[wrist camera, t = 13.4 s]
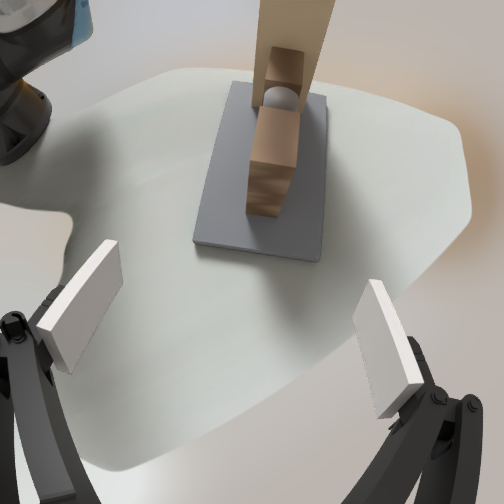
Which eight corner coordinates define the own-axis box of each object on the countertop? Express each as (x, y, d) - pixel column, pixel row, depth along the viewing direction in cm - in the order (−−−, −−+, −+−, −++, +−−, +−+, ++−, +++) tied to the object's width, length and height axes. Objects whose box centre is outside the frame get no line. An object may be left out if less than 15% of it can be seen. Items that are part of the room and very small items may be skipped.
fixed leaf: (253, 168, 34) (260, 106, 24) (263, 108, 37) (271, 46, 26) (283, 172, 34) (300, 112, 24) (289, 112, 37) (304, 51, 26)
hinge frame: (193, 243, 33) (117, 61, 9) (232, 86, 39) (235, -65, 15) (317, 262, 33) (462, 125, 9) (324, 101, 39) (374, -40, 15)
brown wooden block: (245, 213, 33) (249, 160, 22) (256, 147, 35) (264, 83, 24) (277, 218, 33) (295, 167, 22) (285, 151, 35) (301, 90, 25)
